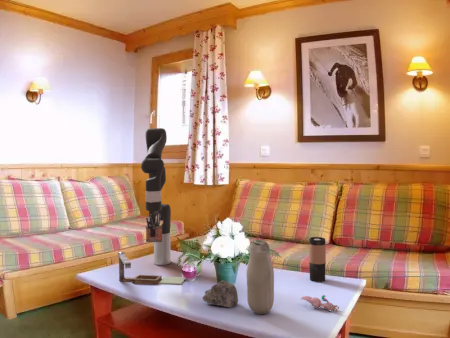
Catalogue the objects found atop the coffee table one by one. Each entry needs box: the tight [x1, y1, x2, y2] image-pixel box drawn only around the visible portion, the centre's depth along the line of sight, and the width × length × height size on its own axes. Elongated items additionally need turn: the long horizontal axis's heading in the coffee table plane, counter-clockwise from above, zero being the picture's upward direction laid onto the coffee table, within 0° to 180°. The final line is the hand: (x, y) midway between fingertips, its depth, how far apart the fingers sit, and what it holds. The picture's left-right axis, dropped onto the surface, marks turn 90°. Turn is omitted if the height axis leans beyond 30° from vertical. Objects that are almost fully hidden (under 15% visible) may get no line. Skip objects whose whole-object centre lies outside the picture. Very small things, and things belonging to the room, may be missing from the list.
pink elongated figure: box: [300, 294, 340, 312], centre depth 160 cm, size 6×6×15 cm
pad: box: [158, 276, 185, 286], centre depth 196 cm, size 9×11×1 cm
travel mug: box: [308, 236, 327, 283], centre depth 195 cm, size 8×8×20 cm
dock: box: [118, 257, 163, 285], centre depth 197 cm, size 7×20×11 cm, turn 80°
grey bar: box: [117, 251, 132, 270], centre depth 190 cm, size 3×21×3 cm, turn 23°
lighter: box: [145, 221, 163, 243], centre depth 195 cm, size 8×3×10 cm, turn 83°
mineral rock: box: [202, 280, 239, 308], centre depth 166 cm, size 13×11×10 cm
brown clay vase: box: [246, 239, 275, 315], centre depth 156 cm, size 10×10×28 cm
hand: (154, 235), depth 195 cm, fingers closed on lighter, 3 cm apart
